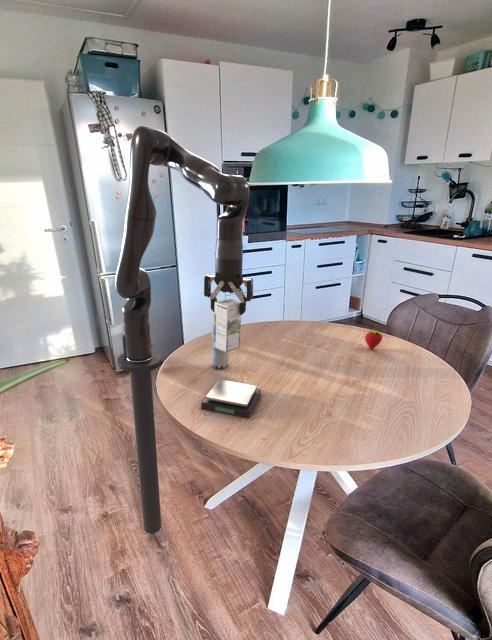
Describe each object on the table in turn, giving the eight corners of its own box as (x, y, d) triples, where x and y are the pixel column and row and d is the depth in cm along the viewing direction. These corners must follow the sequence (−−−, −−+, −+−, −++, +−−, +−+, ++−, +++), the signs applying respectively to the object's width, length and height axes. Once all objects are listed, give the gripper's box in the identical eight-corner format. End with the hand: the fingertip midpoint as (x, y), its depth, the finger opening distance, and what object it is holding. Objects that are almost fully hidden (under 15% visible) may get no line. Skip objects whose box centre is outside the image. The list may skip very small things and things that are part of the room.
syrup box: (227, 342, 121) (228, 297, 115) (240, 348, 117) (242, 302, 111) (213, 347, 117) (213, 300, 111) (226, 353, 114) (227, 305, 108)
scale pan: (205, 399, 117) (205, 396, 116) (218, 381, 127) (218, 379, 127) (246, 406, 114) (247, 404, 113) (257, 388, 124) (257, 386, 124)
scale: (201, 409, 117) (201, 402, 116) (216, 387, 130) (216, 381, 129) (248, 418, 114) (249, 411, 113) (260, 395, 126) (260, 389, 125)
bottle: (218, 371, 140) (219, 319, 132) (207, 365, 145) (207, 314, 137) (232, 366, 145) (234, 316, 136) (221, 360, 149) (222, 311, 141)
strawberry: (359, 347, 167) (363, 325, 163) (374, 345, 169) (379, 324, 165) (367, 352, 162) (372, 330, 158) (383, 351, 164) (387, 328, 160)
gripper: (257, 255, 107) (254, 311, 114) (209, 251, 111) (209, 306, 118) (250, 260, 101) (248, 319, 108) (199, 255, 104) (200, 313, 111)
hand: (227, 312), depth 113 cm, fingers closed on syrup box, 7 cm apart
